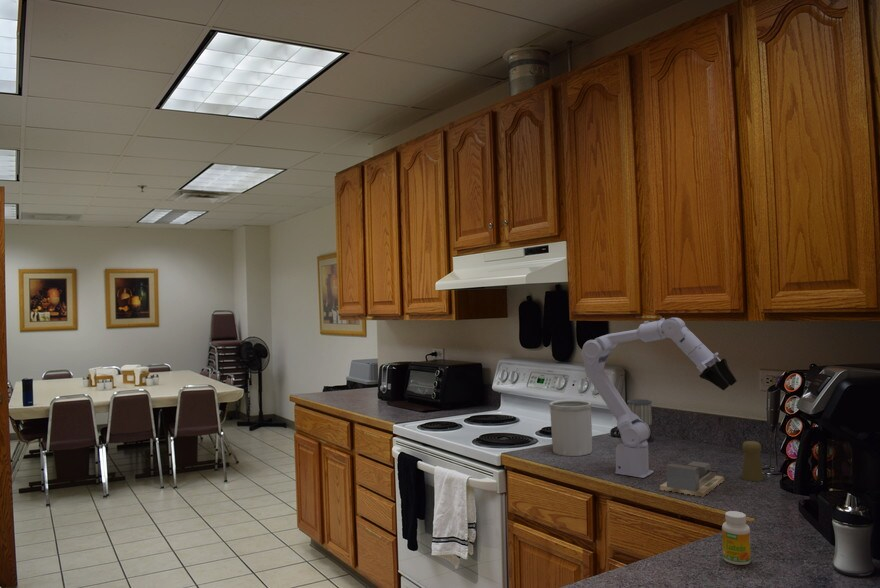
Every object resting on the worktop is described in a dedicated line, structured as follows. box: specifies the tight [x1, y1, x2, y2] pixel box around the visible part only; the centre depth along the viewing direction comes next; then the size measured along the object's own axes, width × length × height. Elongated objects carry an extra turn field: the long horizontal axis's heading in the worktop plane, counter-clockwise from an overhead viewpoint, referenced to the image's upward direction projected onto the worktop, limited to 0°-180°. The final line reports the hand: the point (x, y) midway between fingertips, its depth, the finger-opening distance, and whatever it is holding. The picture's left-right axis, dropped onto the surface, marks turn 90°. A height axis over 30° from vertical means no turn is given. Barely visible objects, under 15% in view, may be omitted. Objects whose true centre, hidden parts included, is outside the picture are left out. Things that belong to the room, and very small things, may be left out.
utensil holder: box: [548, 398, 593, 457], centre depth 234 cm, size 15×15×18 cm
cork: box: [741, 440, 765, 482], centre depth 196 cm, size 6×6×11 cm
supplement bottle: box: [721, 510, 752, 566], centre depth 138 cm, size 5×5×10 cm
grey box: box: [665, 463, 699, 492], centre depth 184 cm, size 8×3×6 cm, turn 50°
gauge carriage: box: [686, 460, 718, 479], centre depth 194 cm, size 8×5×4 cm, turn 50°
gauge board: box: [659, 472, 725, 498], centre depth 191 cm, size 12×19×3 cm, turn 140°
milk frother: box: [609, 398, 654, 443], centre depth 252 cm, size 14×16×15 cm
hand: (730, 385), depth 187 cm, fingers open, 7 cm apart
